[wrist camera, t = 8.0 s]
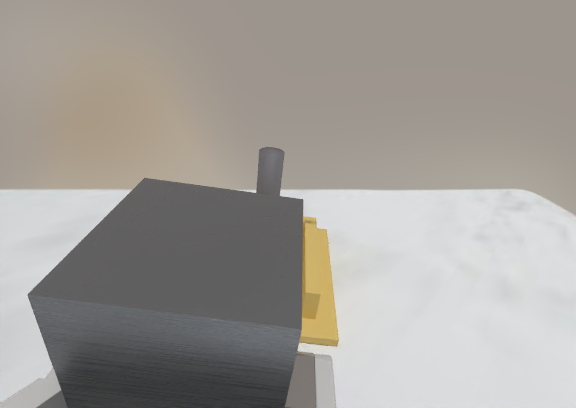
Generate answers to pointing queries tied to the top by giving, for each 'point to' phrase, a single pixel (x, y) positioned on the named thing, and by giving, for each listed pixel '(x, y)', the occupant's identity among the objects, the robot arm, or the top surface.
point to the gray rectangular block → (178, 301)
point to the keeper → (306, 261)
